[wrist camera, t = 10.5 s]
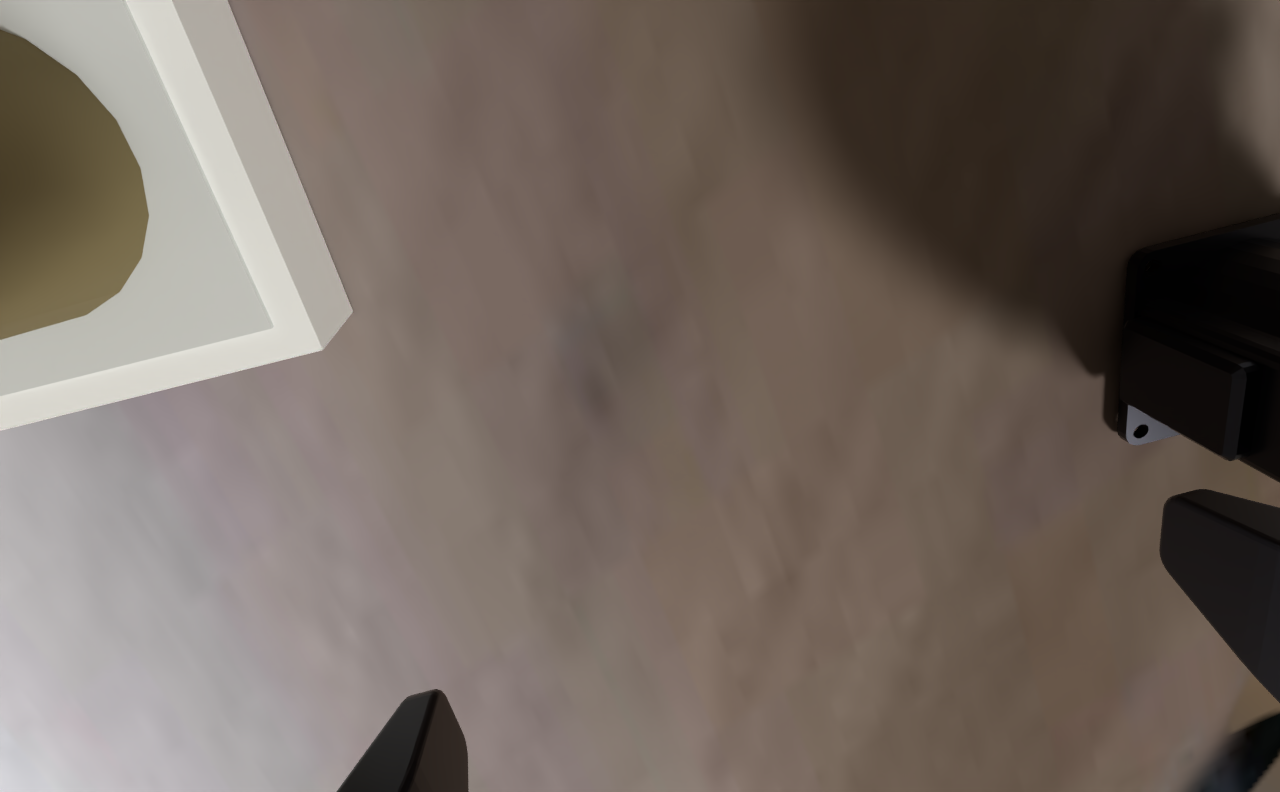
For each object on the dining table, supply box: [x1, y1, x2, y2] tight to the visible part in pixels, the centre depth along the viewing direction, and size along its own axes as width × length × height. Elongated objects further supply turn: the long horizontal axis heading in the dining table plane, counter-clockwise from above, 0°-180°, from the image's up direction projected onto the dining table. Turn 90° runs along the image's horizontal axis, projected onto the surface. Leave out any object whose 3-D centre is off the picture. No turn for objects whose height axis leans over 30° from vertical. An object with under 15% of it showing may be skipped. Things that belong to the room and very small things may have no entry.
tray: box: [0, 0, 353, 431], centre depth 16 cm, size 10×10×3 cm
